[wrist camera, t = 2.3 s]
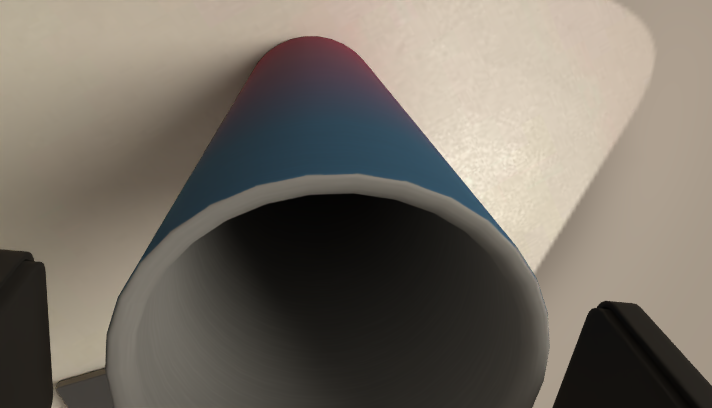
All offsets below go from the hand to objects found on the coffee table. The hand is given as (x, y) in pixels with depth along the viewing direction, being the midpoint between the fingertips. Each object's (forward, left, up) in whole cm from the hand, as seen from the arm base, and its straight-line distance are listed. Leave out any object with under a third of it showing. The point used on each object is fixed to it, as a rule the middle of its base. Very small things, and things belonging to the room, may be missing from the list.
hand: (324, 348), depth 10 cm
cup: (0, 0, -14) cm, 14 cm away
